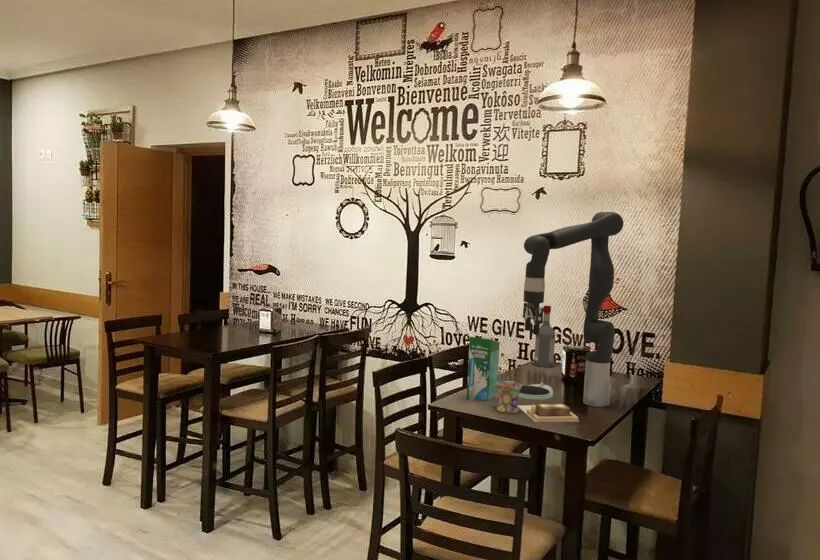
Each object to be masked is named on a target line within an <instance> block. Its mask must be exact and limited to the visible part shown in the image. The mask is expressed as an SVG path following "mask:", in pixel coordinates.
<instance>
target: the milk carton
mask: <svg viewBox="0 0 820 560" xmlns="http://www.w3.org/2000/svg"><path fill="white" fill-rule="evenodd" d="M500 345H501V344H500V341H497V340H495V339H494V340H493V337H491V336H485V335H482V336H481V337H476V336H475V337H474V336H469V345H468V361H467V364H468V365H467V379H466V380H467V382H466V383H467V384H466V386H467V387H466V400H470V401H472V400H474V401H475V400H481V401H490V400H491V399H494V398H496V397H495V396H494V394H493V393H492V390H491V387H492V385H494V384H496V385H497V382H498V380H499V379H498V378H499V362H500V361H499V359H500ZM493 391H494V393H495V395H496V396H497V395H498V387H497V386H493ZM497 397H498V396H497Z"/></svg>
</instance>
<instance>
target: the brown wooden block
mask: <svg viewBox="0 0 820 560" xmlns="http://www.w3.org/2000/svg"><path fill="white" fill-rule="evenodd" d="M534 405H536V415H537V416H538V417H556V416H570V412H571V408H570V407H569V406H568V405H567V404H565V403H548V404H547V403H544V404H543V403H539V404H538V403H537V404H534Z"/></svg>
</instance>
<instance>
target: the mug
mask: <svg viewBox="0 0 820 560" xmlns="http://www.w3.org/2000/svg"><path fill="white" fill-rule="evenodd" d="M493 386H497V390H498V395H499V397H498V396H496V395H495V393H494V391H493ZM522 386H523V383H520V382H518V381H512V380H499V381H497V385H496V384H494V385H492V387H491V390H492V393H493V394H494V396H495V397H494V398H496V399H497V400H498V401H497V403H498V404H497V406H496V410H497V411H498V412H502V413H506V414H516V413H519V412H520V411H521V409H520V408H519V407H518V405H519V402H518V401H519V399H518V398H519V397H518V395H519V392H520V389H521V387H522Z"/></svg>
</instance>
